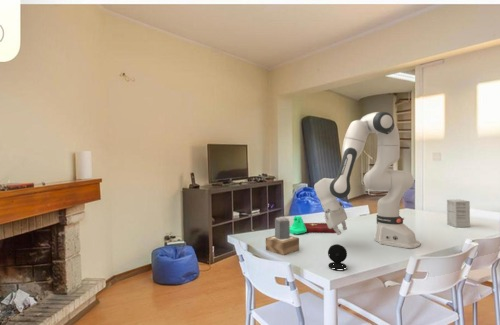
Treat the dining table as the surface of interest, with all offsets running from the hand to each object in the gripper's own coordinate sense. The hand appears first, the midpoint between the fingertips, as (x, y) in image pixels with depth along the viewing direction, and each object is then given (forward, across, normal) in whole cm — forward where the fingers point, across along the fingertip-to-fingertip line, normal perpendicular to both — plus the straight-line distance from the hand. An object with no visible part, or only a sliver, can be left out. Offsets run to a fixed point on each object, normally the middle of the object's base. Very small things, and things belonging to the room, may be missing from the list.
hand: (342, 232), depth 160 cm
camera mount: (-6, +10, +34) cm, 36 cm away
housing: (-10, -24, +21) cm, 33 cm away
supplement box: (+31, +84, -39) cm, 97 cm away
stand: (-4, -24, +23) cm, 34 cm away
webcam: (+9, -33, -6) cm, 34 cm away
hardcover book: (-1, +23, +25) cm, 34 cm away
